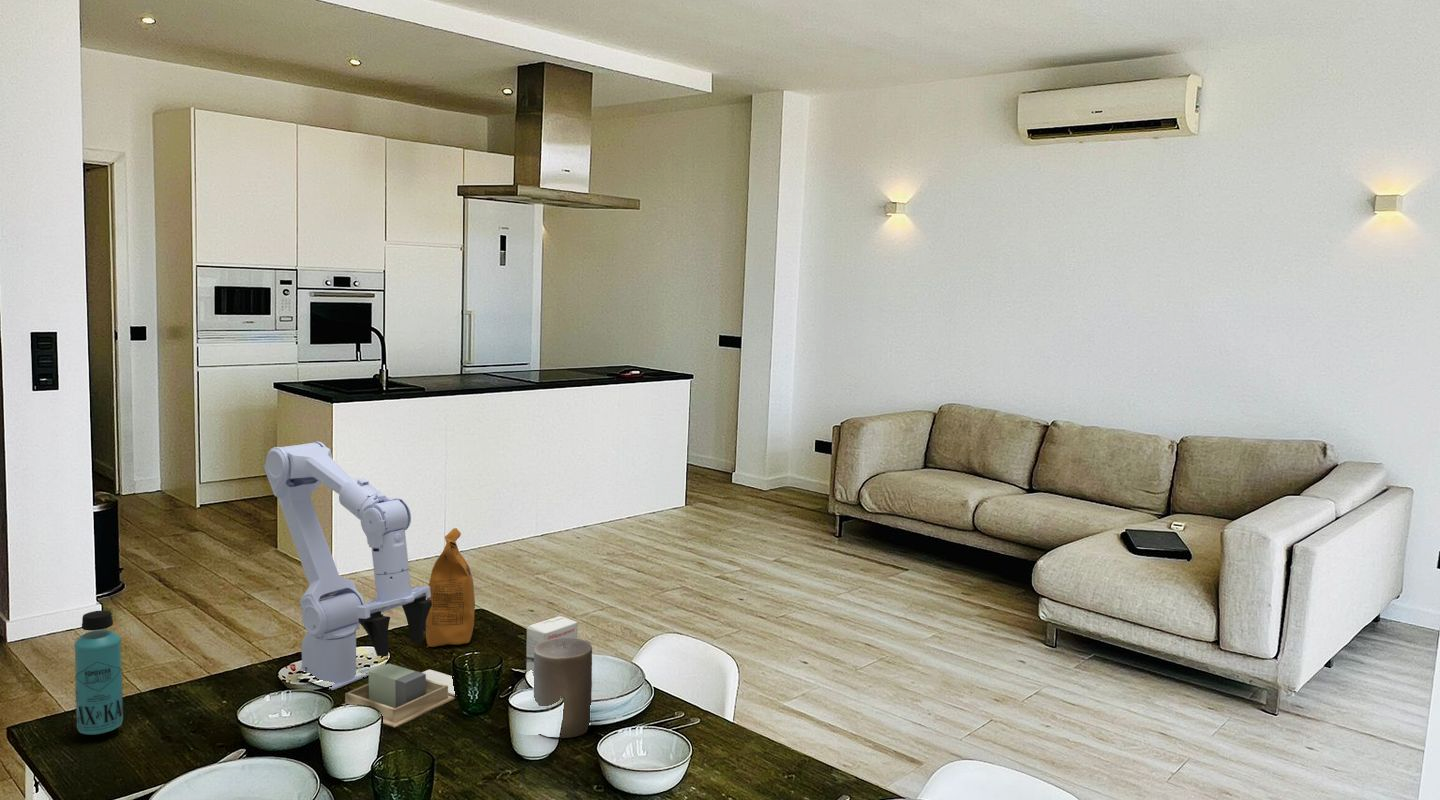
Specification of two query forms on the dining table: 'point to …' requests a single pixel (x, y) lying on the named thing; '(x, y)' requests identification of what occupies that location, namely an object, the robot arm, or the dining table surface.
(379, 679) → the box
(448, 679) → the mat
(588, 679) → the pillar candle
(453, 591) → the coffee package
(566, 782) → the dining table surface
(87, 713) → the beverage bottle
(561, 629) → the ink box
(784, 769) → the dining table surface
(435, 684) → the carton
